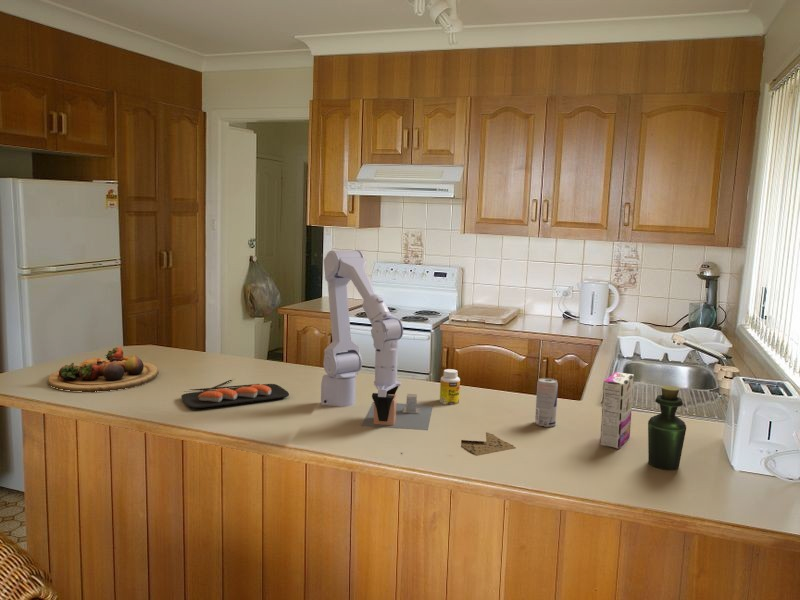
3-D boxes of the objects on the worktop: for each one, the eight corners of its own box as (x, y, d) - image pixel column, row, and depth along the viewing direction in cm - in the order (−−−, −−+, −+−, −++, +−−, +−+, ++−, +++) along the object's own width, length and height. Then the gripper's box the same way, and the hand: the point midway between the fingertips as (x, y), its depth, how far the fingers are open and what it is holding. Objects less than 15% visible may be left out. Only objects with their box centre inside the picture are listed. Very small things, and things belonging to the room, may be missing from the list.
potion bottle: (649, 455, 157) (656, 381, 154) (686, 463, 152) (693, 387, 150) (640, 465, 150) (646, 388, 148) (678, 474, 146) (685, 395, 143)
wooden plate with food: (88, 364, 228) (86, 341, 227) (176, 369, 224) (175, 345, 222) (23, 392, 197) (21, 364, 195) (124, 397, 192) (123, 370, 191)
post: (402, 413, 180) (403, 397, 179) (404, 408, 184) (404, 392, 184) (418, 414, 180) (419, 398, 179) (420, 409, 184) (420, 393, 183)
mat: (360, 429, 169) (361, 425, 169) (373, 405, 190) (373, 401, 190) (427, 433, 167) (427, 430, 167) (432, 408, 188) (432, 405, 188)
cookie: (476, 457, 153) (476, 453, 153) (447, 440, 164) (447, 437, 164) (517, 449, 159) (517, 446, 159) (487, 434, 170) (487, 430, 169)
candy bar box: (610, 432, 172) (615, 371, 169) (630, 436, 169) (635, 374, 167) (598, 445, 162) (603, 380, 160) (619, 449, 160) (624, 383, 157)
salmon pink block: (373, 424, 170) (374, 399, 169) (376, 417, 176) (376, 393, 175) (393, 425, 170) (394, 400, 169) (395, 419, 175) (396, 394, 174)
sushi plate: (190, 414, 179) (190, 401, 178) (167, 387, 204) (167, 374, 204) (292, 401, 193) (292, 388, 193) (258, 376, 219) (258, 365, 218)
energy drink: (556, 422, 179) (559, 379, 177) (554, 428, 174) (557, 384, 172) (536, 419, 181) (538, 376, 179) (533, 425, 176) (536, 381, 174)
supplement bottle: (447, 409, 188) (448, 374, 187) (435, 404, 193) (437, 369, 191) (462, 406, 191) (464, 371, 190) (451, 401, 196) (452, 367, 194)
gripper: (398, 373, 163) (397, 426, 165) (404, 359, 177) (403, 408, 179) (370, 371, 164) (369, 424, 166) (378, 358, 178) (377, 407, 180)
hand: (384, 416), depth 172 cm, fingers open, 7 cm apart
